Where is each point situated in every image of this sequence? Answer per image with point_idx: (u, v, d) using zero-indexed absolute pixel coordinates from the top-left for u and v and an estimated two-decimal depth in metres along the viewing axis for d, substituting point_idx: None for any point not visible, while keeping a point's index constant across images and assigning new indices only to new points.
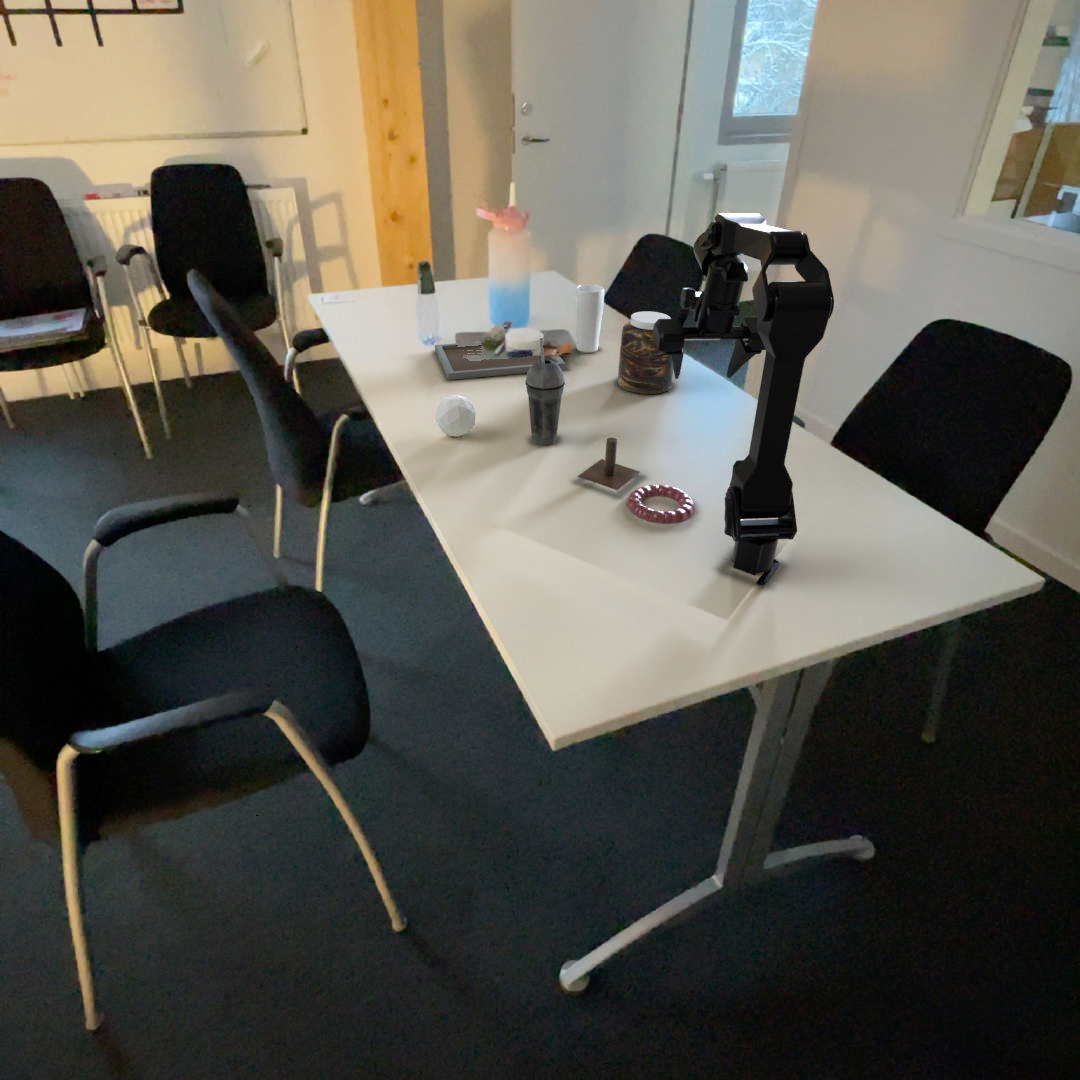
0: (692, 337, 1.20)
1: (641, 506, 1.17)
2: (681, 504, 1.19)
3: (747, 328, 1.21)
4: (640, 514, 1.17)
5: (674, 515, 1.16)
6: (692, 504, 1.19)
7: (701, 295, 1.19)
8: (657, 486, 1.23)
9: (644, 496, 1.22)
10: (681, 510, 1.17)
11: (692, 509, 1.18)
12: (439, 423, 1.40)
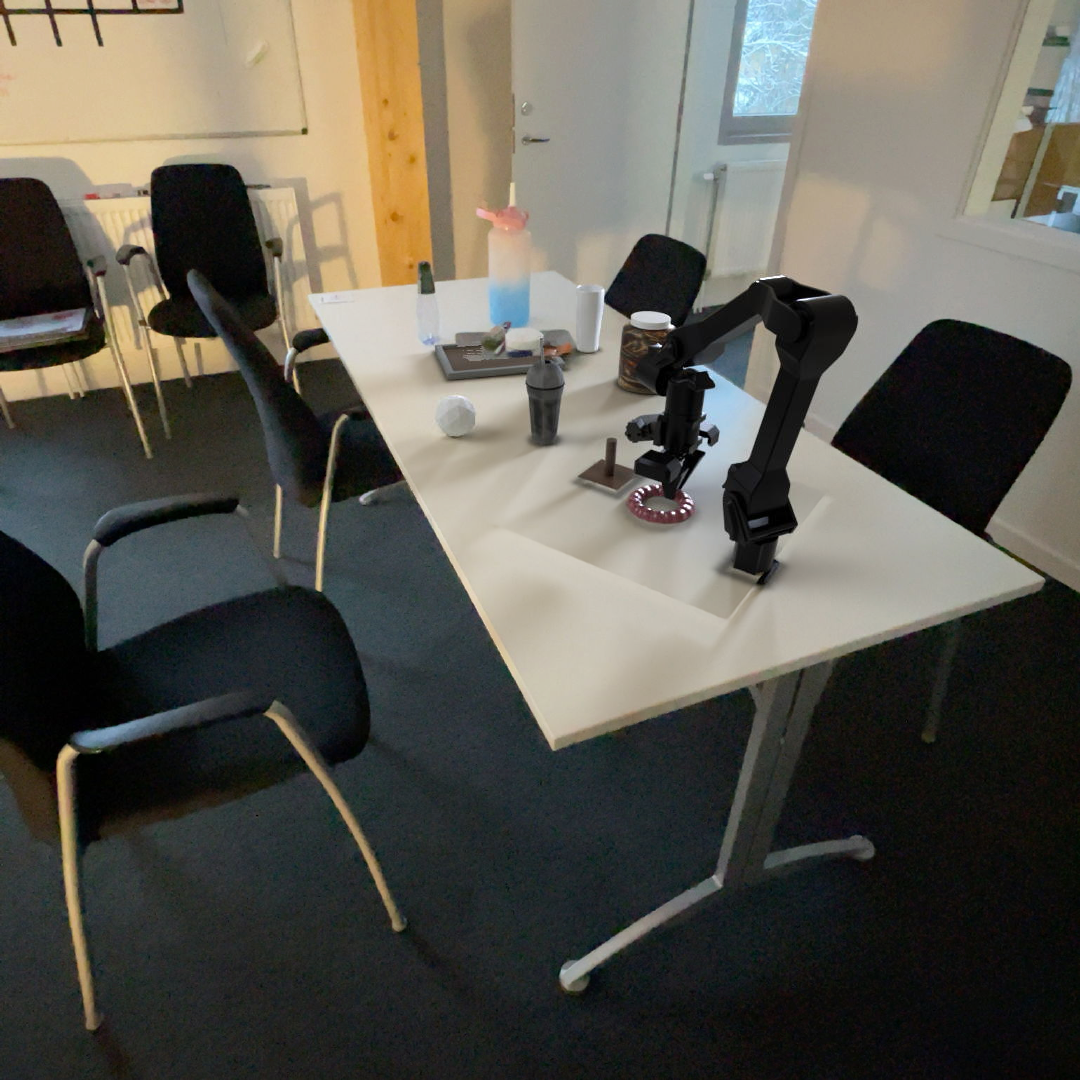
0: None
1: (641, 506, 1.17)
2: (681, 504, 1.19)
3: None
4: (640, 514, 1.17)
5: (674, 515, 1.16)
6: (692, 504, 1.19)
7: (661, 418, 1.15)
8: (657, 486, 1.23)
9: (644, 496, 1.22)
10: (681, 510, 1.17)
11: (692, 510, 1.18)
12: (439, 423, 1.40)
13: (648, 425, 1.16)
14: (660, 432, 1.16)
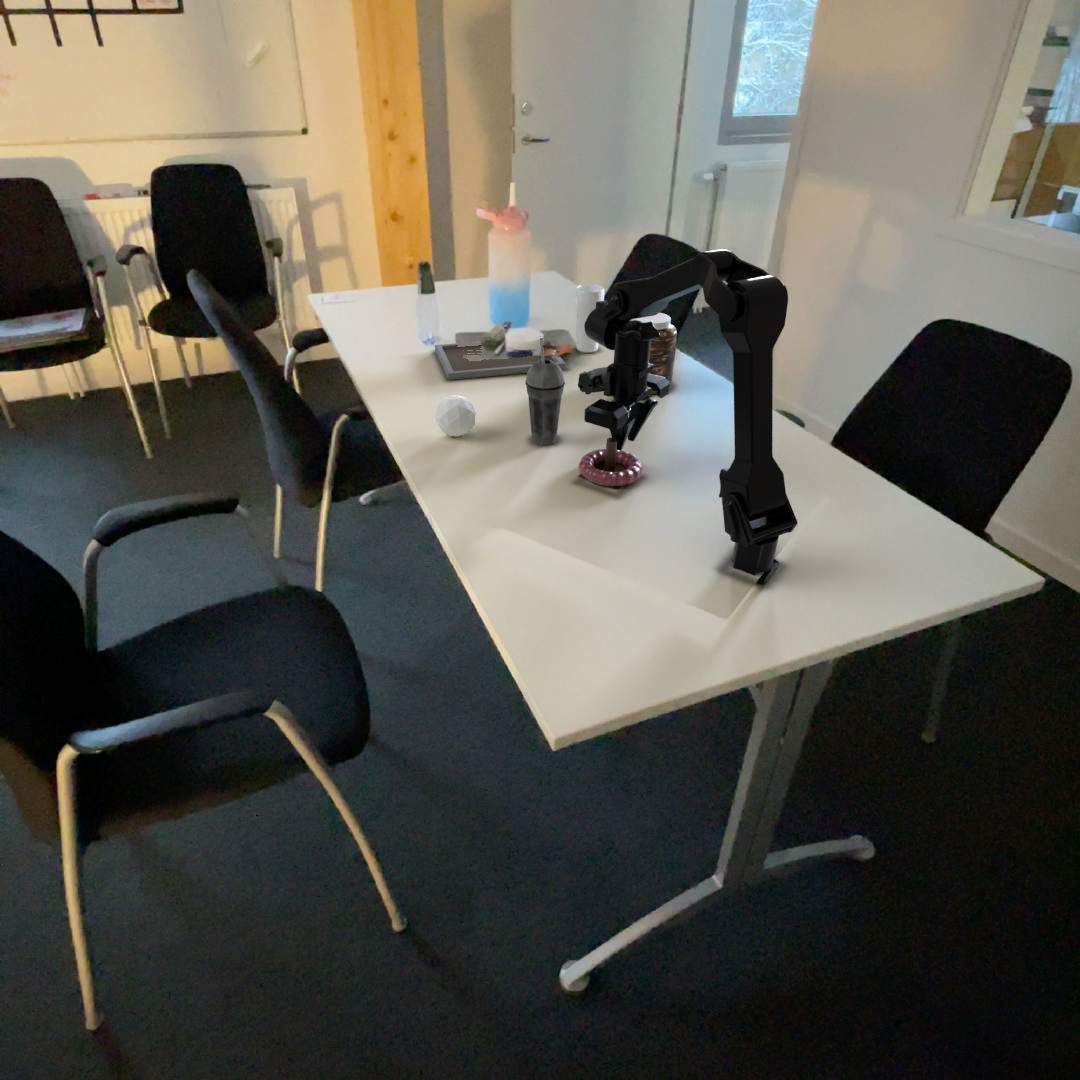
0: None
1: (591, 467, 1.25)
2: (629, 466, 1.27)
3: (647, 383, 1.28)
4: (590, 475, 1.25)
5: (621, 475, 1.24)
6: (640, 466, 1.27)
7: (610, 369, 1.21)
8: None
9: (596, 459, 1.29)
10: (628, 471, 1.25)
11: (639, 471, 1.26)
12: (439, 423, 1.40)
13: (599, 376, 1.23)
14: (610, 383, 1.22)
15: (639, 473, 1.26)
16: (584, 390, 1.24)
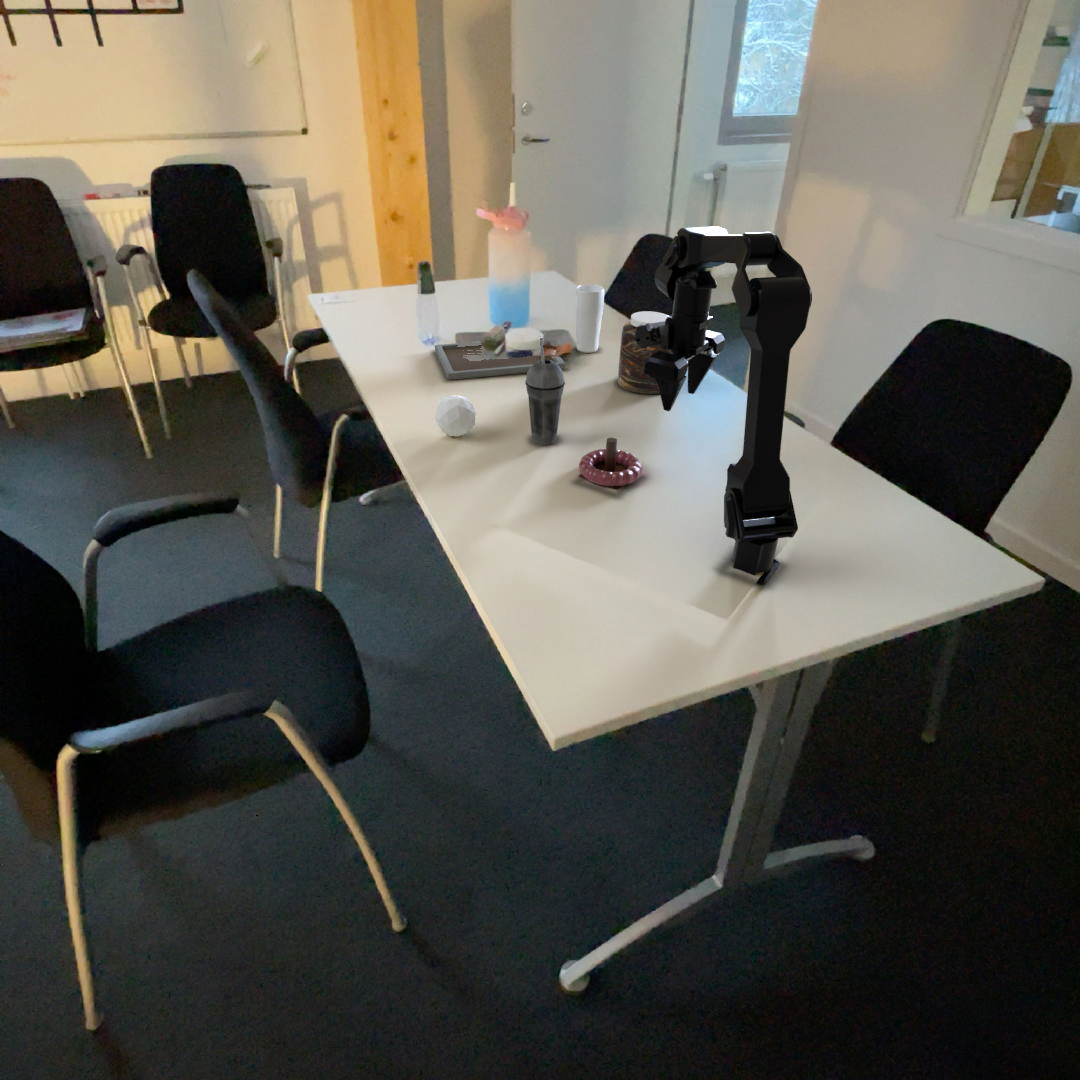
0: None
1: (591, 467, 1.25)
2: (629, 466, 1.27)
3: None
4: (590, 475, 1.25)
5: (621, 475, 1.24)
6: (640, 466, 1.27)
7: (669, 321, 1.20)
8: None
9: (596, 459, 1.29)
10: (628, 471, 1.25)
11: (639, 471, 1.26)
12: (439, 423, 1.40)
13: (656, 329, 1.21)
14: (668, 335, 1.20)
15: (639, 473, 1.26)
16: (641, 343, 1.22)
